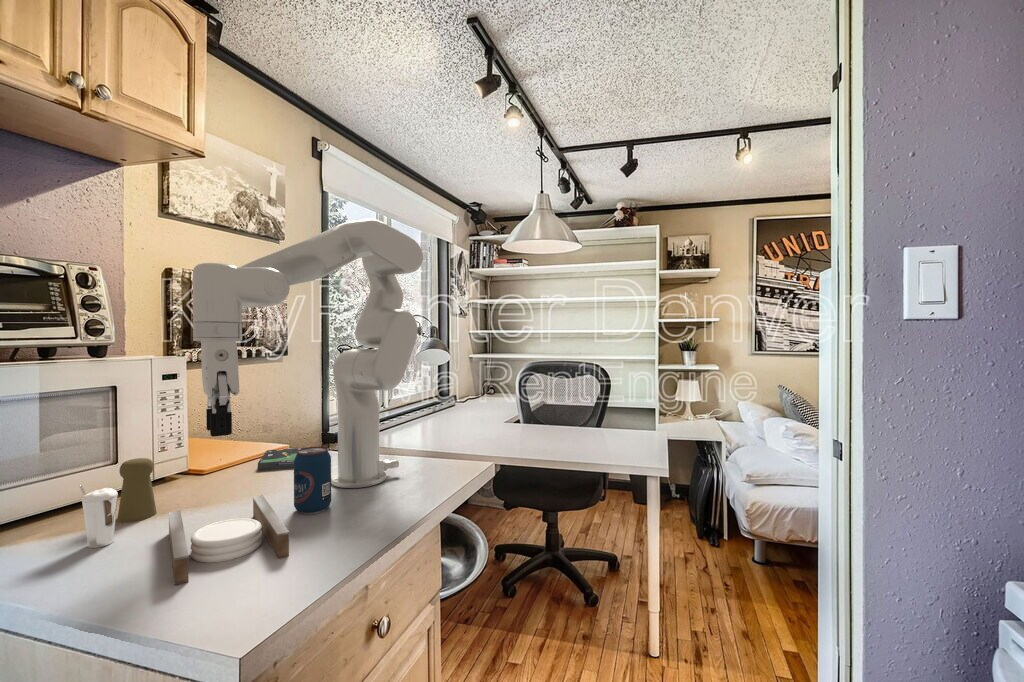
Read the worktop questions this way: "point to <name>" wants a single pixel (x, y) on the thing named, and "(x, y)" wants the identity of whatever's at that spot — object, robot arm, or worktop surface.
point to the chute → (261, 513)
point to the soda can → (312, 480)
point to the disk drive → (278, 459)
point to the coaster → (226, 540)
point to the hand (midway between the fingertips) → (218, 431)
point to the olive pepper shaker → (136, 491)
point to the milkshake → (99, 516)
